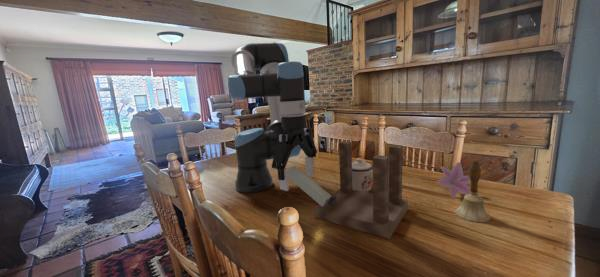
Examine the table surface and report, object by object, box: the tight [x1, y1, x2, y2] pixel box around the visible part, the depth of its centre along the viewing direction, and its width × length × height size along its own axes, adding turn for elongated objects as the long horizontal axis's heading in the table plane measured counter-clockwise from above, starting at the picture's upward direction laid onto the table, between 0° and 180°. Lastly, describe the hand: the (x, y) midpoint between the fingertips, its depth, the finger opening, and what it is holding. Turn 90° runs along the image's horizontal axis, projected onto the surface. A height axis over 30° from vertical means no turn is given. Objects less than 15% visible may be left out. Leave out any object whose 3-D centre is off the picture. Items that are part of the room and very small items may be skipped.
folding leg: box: [287, 165, 332, 207], centre depth 78 cm, size 3×3×15 cm
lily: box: [436, 161, 471, 199], centre depth 86 cm, size 12×12×10 cm
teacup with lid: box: [352, 157, 373, 193], centre depth 95 cm, size 12×9×12 cm
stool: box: [313, 140, 409, 240], centre depth 74 cm, size 22×18×20 cm
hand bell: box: [454, 159, 492, 223], centre depth 70 cm, size 8×8×16 cm
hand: (298, 182), depth 80 cm, fingers open, 13 cm apart
